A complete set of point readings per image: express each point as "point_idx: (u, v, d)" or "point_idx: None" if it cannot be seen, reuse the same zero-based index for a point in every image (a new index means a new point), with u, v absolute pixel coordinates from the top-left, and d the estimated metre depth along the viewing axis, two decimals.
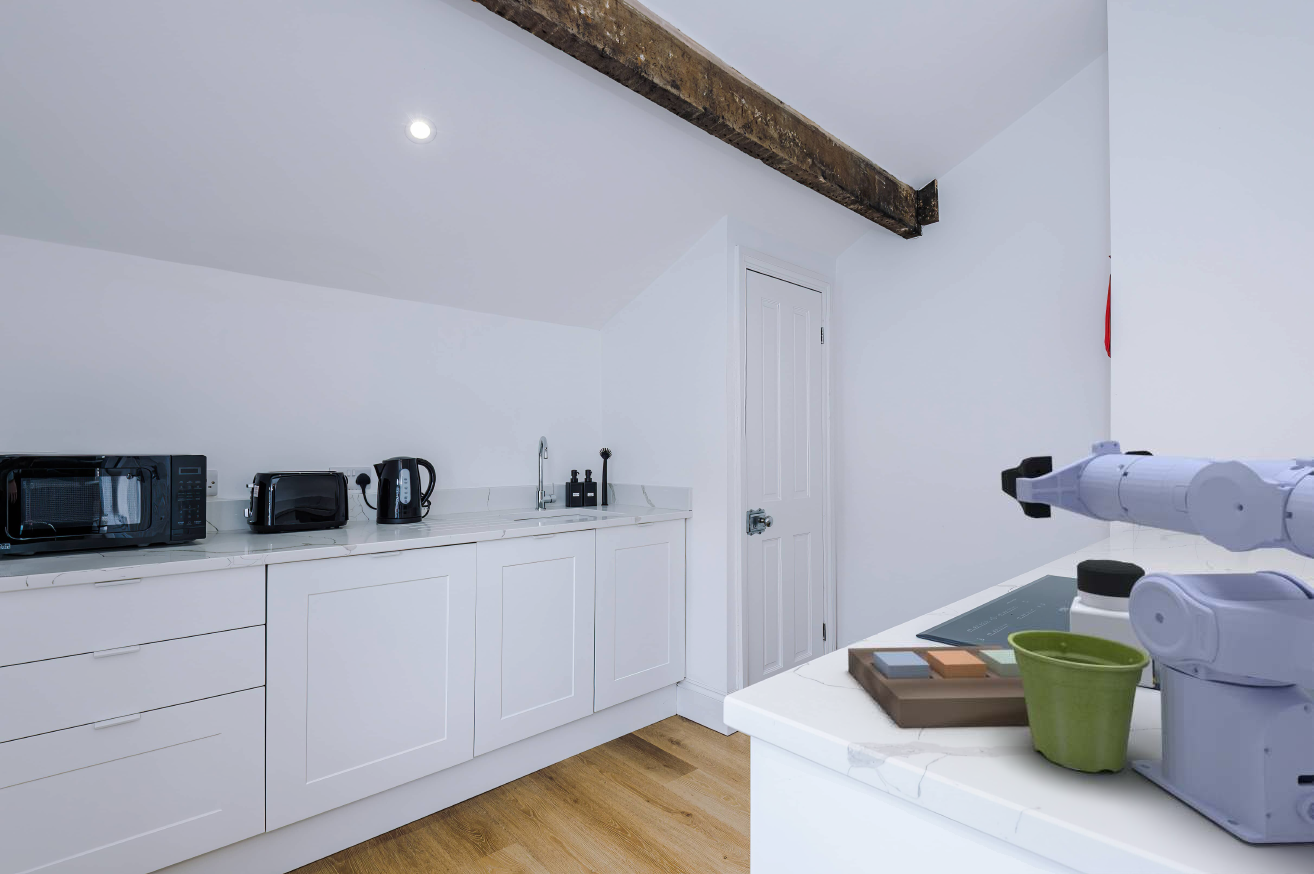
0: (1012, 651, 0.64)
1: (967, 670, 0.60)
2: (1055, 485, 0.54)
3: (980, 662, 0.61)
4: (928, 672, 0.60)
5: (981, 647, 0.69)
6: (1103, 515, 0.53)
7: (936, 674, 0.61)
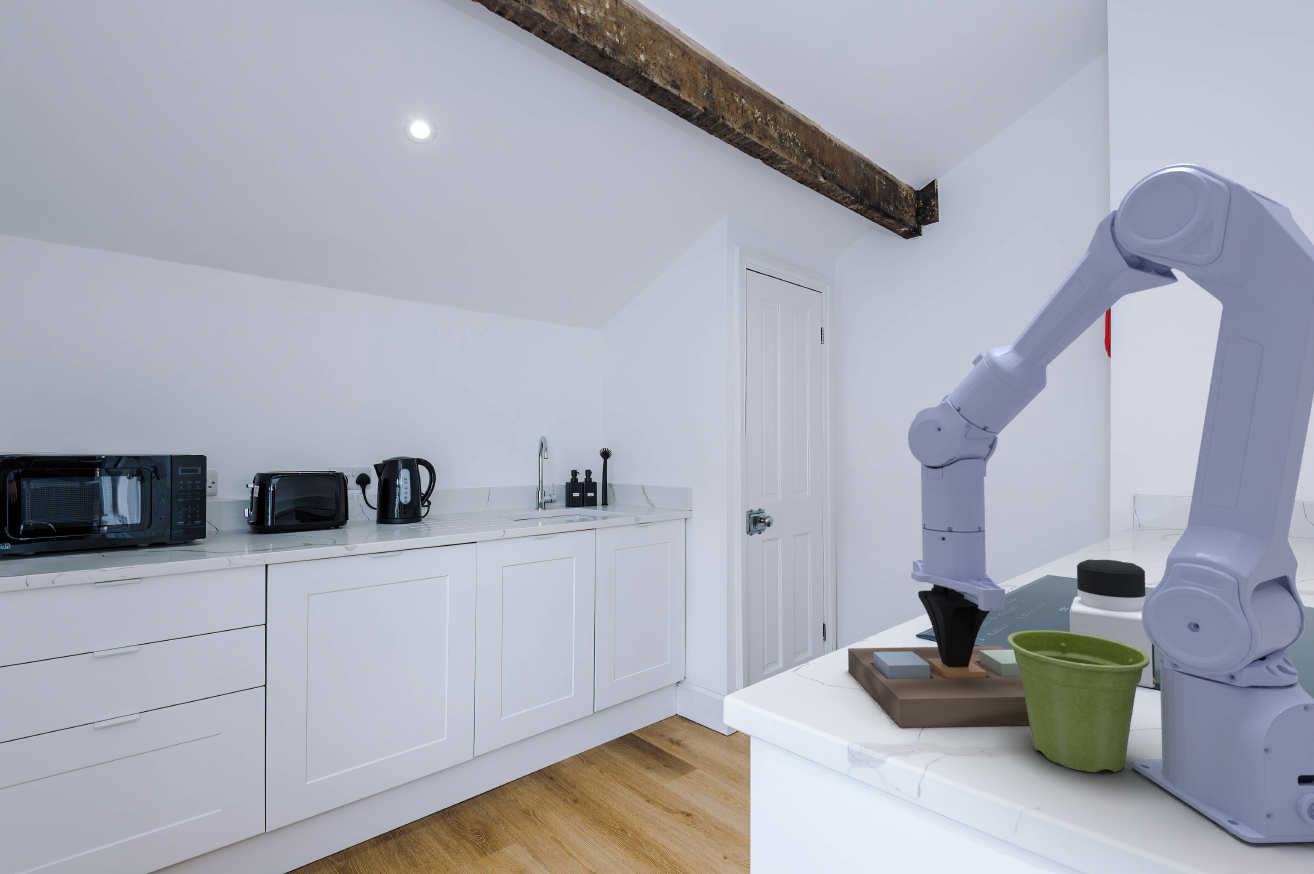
0: (1012, 651, 0.64)
1: None
2: (975, 585, 0.58)
3: (980, 670, 0.61)
4: (928, 672, 0.60)
5: (981, 647, 0.69)
6: (985, 563, 0.61)
7: (936, 674, 0.61)
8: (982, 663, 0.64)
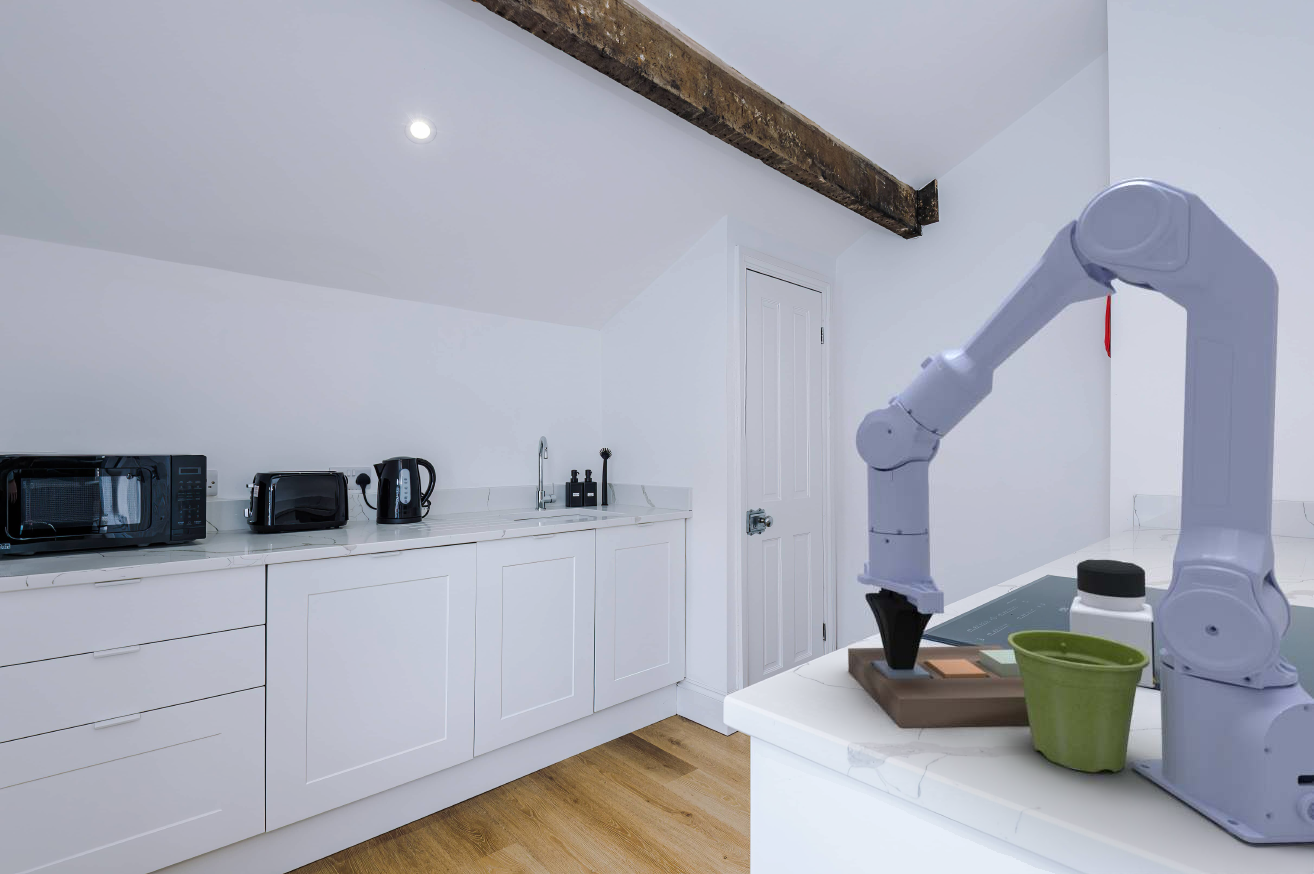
0: (1012, 651, 0.64)
1: None
2: (916, 588, 0.57)
3: (980, 671, 0.61)
4: None
5: (981, 647, 0.69)
6: (929, 565, 0.61)
7: (936, 674, 0.61)
8: (982, 663, 0.64)
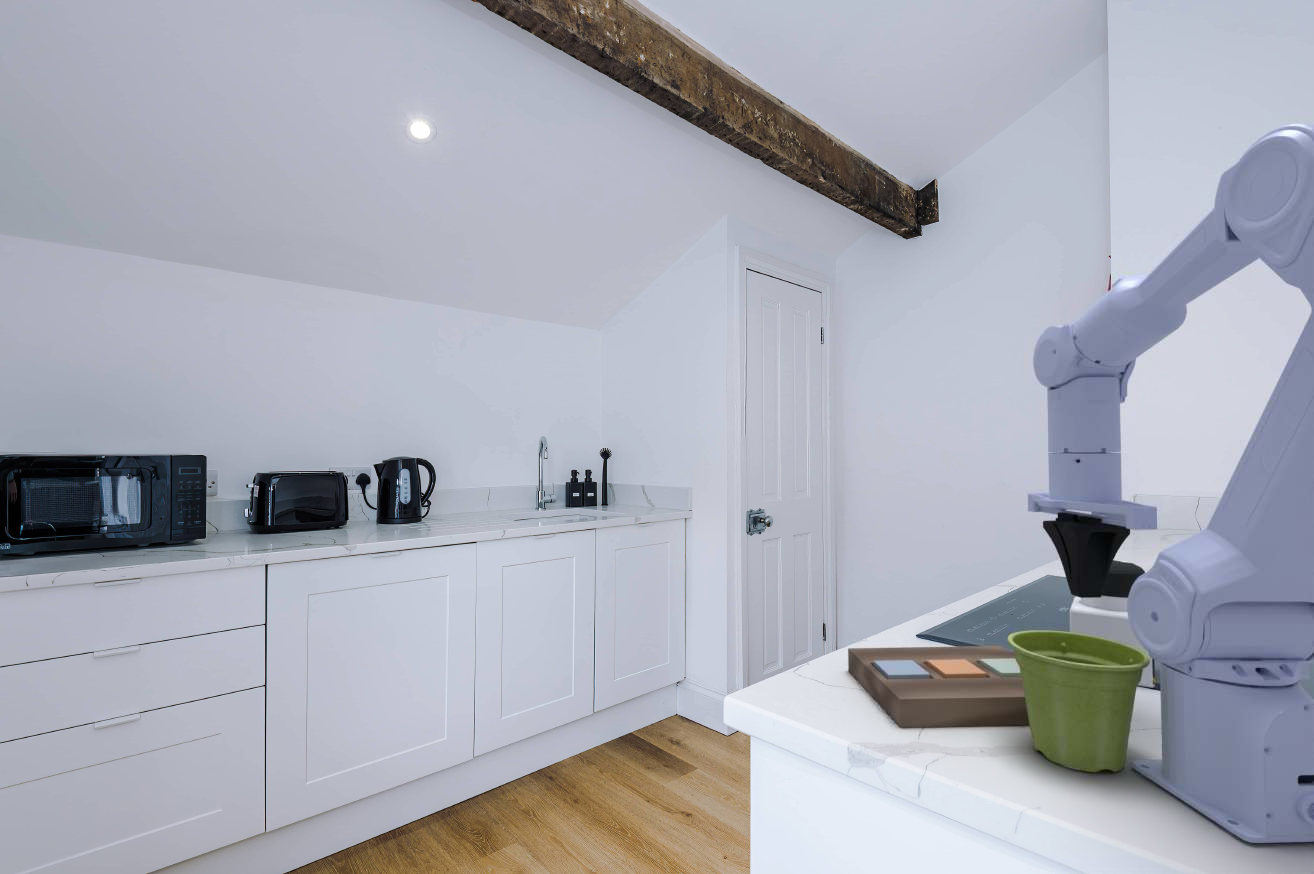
0: (1012, 660, 0.64)
1: None
2: None
3: (980, 671, 0.61)
4: None
5: (981, 647, 0.69)
6: (1121, 487, 0.58)
7: (936, 674, 0.61)
8: None
